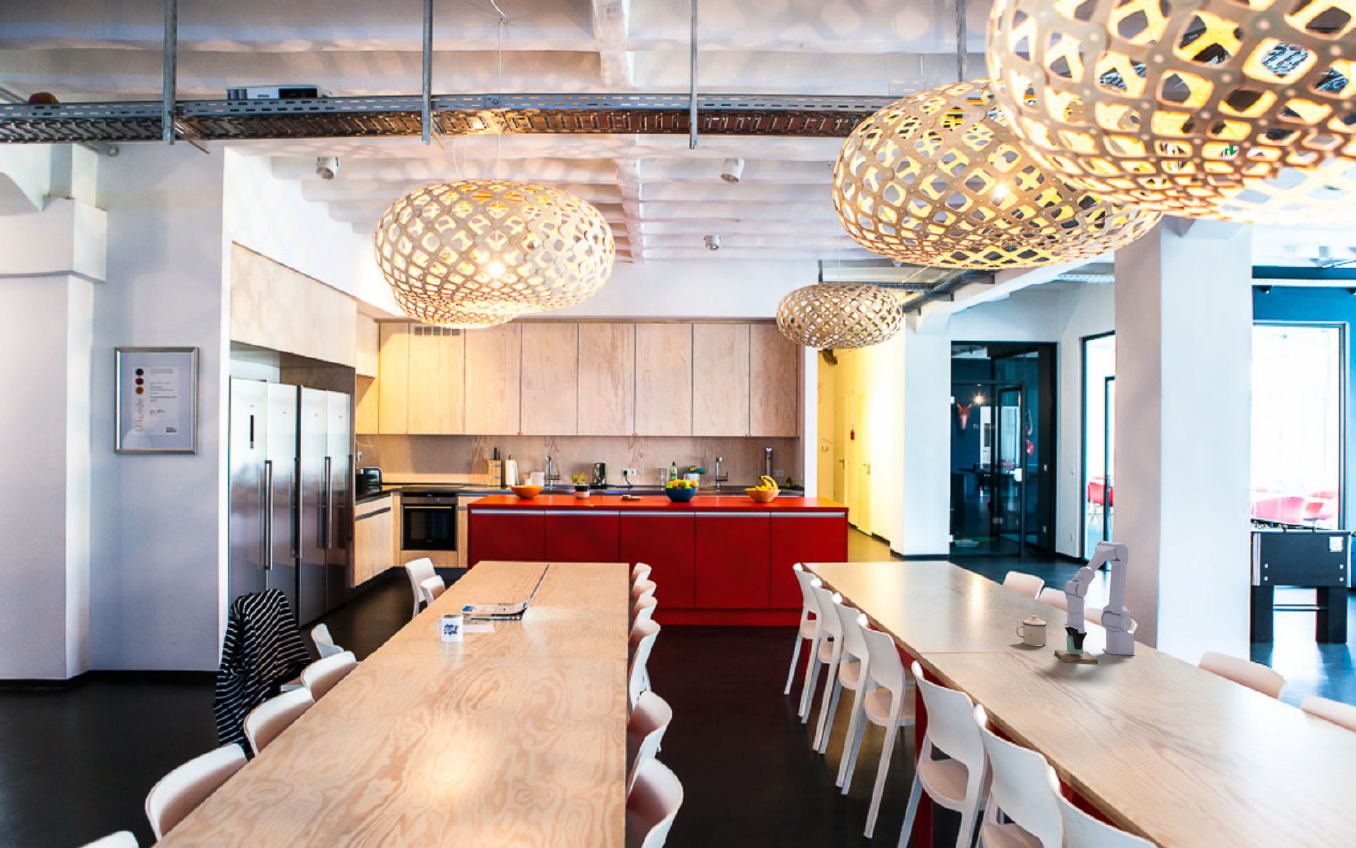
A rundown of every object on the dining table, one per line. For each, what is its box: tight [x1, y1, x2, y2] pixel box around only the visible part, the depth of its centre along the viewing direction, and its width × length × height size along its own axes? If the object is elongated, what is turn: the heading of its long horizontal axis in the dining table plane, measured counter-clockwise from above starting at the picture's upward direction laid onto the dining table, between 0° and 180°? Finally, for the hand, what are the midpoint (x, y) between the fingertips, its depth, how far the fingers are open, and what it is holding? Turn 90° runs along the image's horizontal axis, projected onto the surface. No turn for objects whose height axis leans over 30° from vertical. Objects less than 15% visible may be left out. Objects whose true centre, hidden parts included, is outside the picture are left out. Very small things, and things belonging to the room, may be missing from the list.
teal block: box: [1066, 634, 1084, 654], centre depth 303 cm, size 4×4×6 cm
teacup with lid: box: [1015, 614, 1047, 646], centre depth 325 cm, size 12×9×12 cm
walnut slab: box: [1054, 649, 1099, 664], centre depth 302 cm, size 12×12×2 cm
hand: (1075, 647), depth 303 cm, fingers closed on teal block, 4 cm apart
